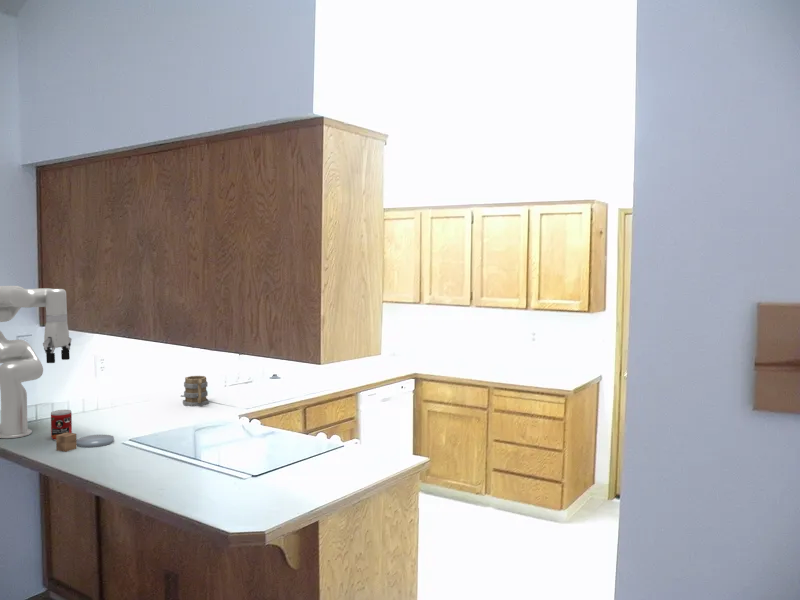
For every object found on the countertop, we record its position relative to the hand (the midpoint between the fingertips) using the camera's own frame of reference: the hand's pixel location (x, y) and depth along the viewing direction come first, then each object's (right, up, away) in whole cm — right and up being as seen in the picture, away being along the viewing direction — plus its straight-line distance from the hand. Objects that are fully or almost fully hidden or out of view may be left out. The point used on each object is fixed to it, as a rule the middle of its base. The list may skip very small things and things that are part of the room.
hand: (58, 361), depth 262 cm
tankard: (+33, -30, +74) cm, 86 cm away
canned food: (-4, -33, +10) cm, 35 cm away
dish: (+14, -34, +3) cm, 37 cm away
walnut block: (+7, -34, -7) cm, 36 cm away
